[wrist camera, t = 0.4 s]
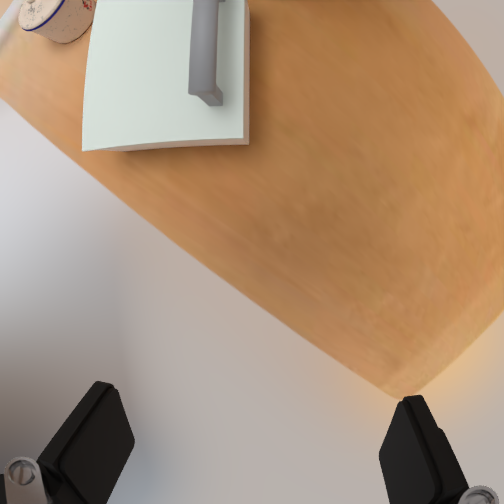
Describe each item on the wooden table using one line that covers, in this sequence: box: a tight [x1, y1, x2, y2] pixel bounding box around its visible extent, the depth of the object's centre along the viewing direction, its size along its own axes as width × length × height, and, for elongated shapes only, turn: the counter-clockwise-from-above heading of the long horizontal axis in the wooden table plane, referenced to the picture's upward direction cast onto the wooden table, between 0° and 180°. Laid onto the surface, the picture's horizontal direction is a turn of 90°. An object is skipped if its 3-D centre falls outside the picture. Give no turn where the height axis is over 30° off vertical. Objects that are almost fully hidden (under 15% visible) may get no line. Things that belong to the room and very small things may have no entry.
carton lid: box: [82, 0, 245, 151], centre depth 22 cm, size 18×16×7 cm
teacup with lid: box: [19, 0, 96, 43], centre depth 26 cm, size 12×9×12 cm
